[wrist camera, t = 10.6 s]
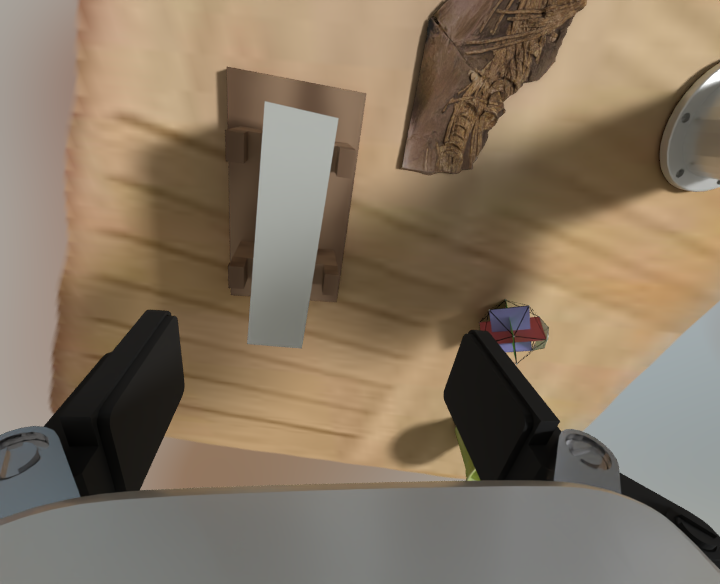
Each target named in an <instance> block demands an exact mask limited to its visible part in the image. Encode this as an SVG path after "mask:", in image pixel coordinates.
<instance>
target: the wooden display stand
mask: <svg viewBox="0 0 720 584" xmlns="http://www.w3.org/2000/svg"><path fill="white" fill-rule="evenodd" d="M365 100H366V93H362V92H356V91H351V90H346V89H341V88H335V87H330V86H325V85H320V84H315V83H309V82H304V81H299V80H294V79H288V78H283V77H278V76H273V75H268V74H262V73H257V72H252V71H247V70H241V69H236V68H231V67H227V109H228V129H227V130H225V141H226V161H228V164H229V219H230V263H229V265H228V281H229V288H231V295H238V296H251V286H252V272H253V258H254V244H255V230H256V216H257V203H258V189H259V175H260V161H261V147H262V133H263V119H264V105H265V101H266V102H271V103H276V104H280V105H284V106H288V107H293V108H297V109H301V110H306V111H310V112H314V113H319V114H323V115H327V116H331V117H335V118H339V119H338V125H337V131H336V138H335V144H334V150H333V156H332V163H331V169H330V175H329V181H328V188H327V194H326V200H325V206H324V213H323V219H322V225H321V231H320V238H319V244H318V250H317V256H316V262H315V269H314V275H313V281H312V287H311V294H310V300H311V301H326V302H337V296H338V289H339V282H340V275H341V268H342V261H343V254H344V247H345V240H346V233H347V226H348V219H349V212H350V205H351V198H352V191H353V184H354V177H355V170H356V163H357V156H358V149H359V142H360V135H361V128H362V121H363V114H364V107H365Z"/></svg>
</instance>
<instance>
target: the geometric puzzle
mask: <svg viewBox="0 0 720 584" xmlns="http://www.w3.org/2000/svg"><path fill="white" fill-rule="evenodd" d="M506 301H507V300H506V299H505V303H506ZM508 302H509V301H508ZM502 303H503V302H501V304H502ZM510 303H511V302H510ZM501 304H500V305H501ZM512 304H513V303H512ZM520 304H521V303H520ZM500 305H499V306H500ZM514 305H515V304H514ZM524 305H525V304H524ZM496 306H497V305H496ZM516 306H517V305H516ZM529 307H530V305H528V306H518V307H510V308H507V303H506V308H500V309H496V308H495V309H492V308H491V310H490V309H489V312H488V315H489V313H490V321H489V322H481V321H480V322H479V323H480V330H482V331H488V332H489V333H490V334H491V335H492V336H493V338H494V339H495V340H496V341H497V343H498V344H499V345H500V346H501V348H502V349H503V350H504V351H505V352H514V355H515V359H516V352H518V351H530V352H531V351H532V350H537V349H543V348H544V347H545V345H546V342H547V340H548V332H549V327H548V326H547V325H546V324H545V323H544V322H543V321H542V319H541V318H540V316H538V317H535V316H534V317H531V318H530V314H529ZM530 309H532V308H531V307H530ZM532 310H533V309H532ZM532 310H531V311H532ZM530 313H531V312H530ZM532 314H533V312H532ZM485 315H486V314H485ZM488 315H487V316H488ZM533 315H535V314H533ZM487 316H486V317H487ZM536 316H537V315H536ZM486 317H485V318H486ZM485 318H484V319H485ZM482 319H483V318H482ZM487 320H488V317H487ZM531 341H533V343H534V341H536V343H535V345H534V347H533V345H532V347H531ZM532 348H533V349H532ZM530 352H529V353H530ZM532 352H533V351H532ZM528 355H529V354H528ZM528 355H527V356H528ZM523 359H524V358H522V359H521V360H523ZM521 360H520V361H521ZM520 361H519V362H520ZM519 362H518V363H519ZM513 363H514V362H513ZM515 364H516V365H517V360H516V363H515Z"/></svg>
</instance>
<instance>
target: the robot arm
mask: <svg viewBox="0 0 720 584" xmlns="http://www.w3.org/2000/svg"><path fill="white" fill-rule="evenodd" d="M660 165H661V169H662V172H663V174H664V177H665V178H666V179H667V181H668V182H669V183H670V184H672V185H673V186H675V187H676V188H679V189H683V190H687V191H693V192H702V191H708V190H712V189H716V188H718V187H720V63H718V64H717V65H715V66H714V67H712V68H711V69H709V70H708V71H707V72H706V73H705V74H704V75H702V76H701V77H700V78H699V79H698V80H697V81H696V82H695V83H694V84H693V85H692V86H691V87H690V89H689V90H688V91H687V92H686V93H685V94H684V96H683V97H682V99H681V100H680V101H679V103H678V104H677V106H676V107H675V109H674V111H673V113H672V115H671V117H670V118H669V120H668V123H667V125H666V128H665V130H664V133H663V137H662V141H661V146H660ZM183 392H184V374H183V365H182V356H181V346H180V337H179V328H178V320H177V317H176V316H171V313H170V312H169V311H161V310H147V311H146V312H145V313H144V314H143V315H142V316H141V317H140V319H139V320H138V321H137V322H136V324H135V325H134V326H133V327H132V328H131V330H130V331H129V332H128V333H127V334H126V336H125V337H124V338H123V339H122V340H121V342H120V343H119V344H118V345H117V347H116V348H115V349H114V350H113V351H112V352H110V353H107V354H105V355H104V356H103V357H102V358H101V359H100V361H99V362H98V363H97V364H96V365H95V367H94V368H93V369H92V370H91V371H90V372H89V374H88V375H87V376H86V377H85V378H84V380H83V381H82V382H81V383H80V384H79V385H78V387H77V388H76V389H75V390H74V391H73V393H72V394H71V395H70V396H69V397H68V398H67V400H66V401H65V402H64V403H63V404H62V405H61V407H60V408H59V409H58V410H57V411H56V413H55V414H54V415H53V416H52V417H51V418H50V420H49V421H48V422H47V423H46V424H45V426H44V427H40V426H31V427H24V428H19V429H16V430H13V431H9V432H6V433H4V434H1V435H0V584H720V537H719V535H718V534H716V532H715V531H714V530H713V529H712V528H711V527H710V526H709V525H708V524H706V523H705V522H704V521H703V520H701V519H700V518H698V517H697V516H695V515H693V514H692V513H690V512H689V511H687V510H685V509H684V508H682V507H680V506H678V505H676V504H675V503H673V502H671V501H669V500H667V499H666V498H664V497H662V496H660V495H659V494H657V493H655V492H653V491H651V490H650V489H648V488H646V487H644V486H643V485H641V484H639V483H637V482H635V481H634V480H632V479H630V478H628V477H627V476H625V475H623V474H621V473H619V465H618V462H617V459H616V458H615V456H614V455H613V453H612V452H611V451H610V450H609V449H608V448H607V447H606V446H605V445H604V444H603V443H601V442H600V441H599V440H598V439H596V438H595V437H593V436H591V435H589V434H587V433H585V432H582V431H580V430H574V429H566V430H564V431H562V432H561V431H560V429H559V428H558V427H557V426H558V424H559V422H560V421H559V420H558V418H557V417H556V416H555V414H554V413H553V412H552V411H551V409H550V408H549V407H548V406H547V404H546V403H545V402H544V401H543V399H542V398H541V397H540V396H539V394H538V393H537V392H536V391H535V389H534V388H533V387H532V385H531V384H530V383H529V382H528V380H527V379H526V378H525V377H524V375H523V374H522V373H521V372H520V370H519V369H518V368H517V367H516V365H515V364H514V363H513V362H512V360H511V359H510V358H509V357H508V355H507V354H506V353H505V351H504V350H503V349H502V348H501V346H500V345H499V344H498V343H497V341H496V340H495V339H494V338H493V336H492V335H491V334H490V333H489V332H488V331H482V330H470V331H469V332H468V334H465V335H464V336H463V339H462V341H461V344H460V347H459V350H458V353H457V355H456V358H455V361H454V364H453V367H452V370H451V372H450V375H449V378H448V381H447V384H446V387H445V389H444V401H445V403H446V405H447V407H448V410H449V412H450V414H451V416H452V419H453V421H454V423H455V425H456V427H457V430H458V432H459V434H460V436H461V438H462V441H463V443H464V445H465V447H466V449H467V452H468V454H469V456H470V458H471V460H472V463H473V465H474V467H475V469H476V471H477V474H478V476H479V478H480V480H481V481H434V482H432V481H429V482H385V483H344V484H304V485H271V486H270V485H269V486H236V487H205V488H183V489H161V490H140V488H141V486H142V484H143V481H144V479H145V477H146V475H147V473H148V470H149V468H150V466H151V464H152V461H153V459H154V457H155V455H156V453H157V451H158V448H159V446H160V444H161V442H162V440H163V438H164V435H165V433H166V431H167V429H168V426H169V424H170V422H171V420H172V418H173V415H174V413H175V411H176V409H177V407H178V404H179V402H180V400H181V398H182V395H183Z"/></svg>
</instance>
